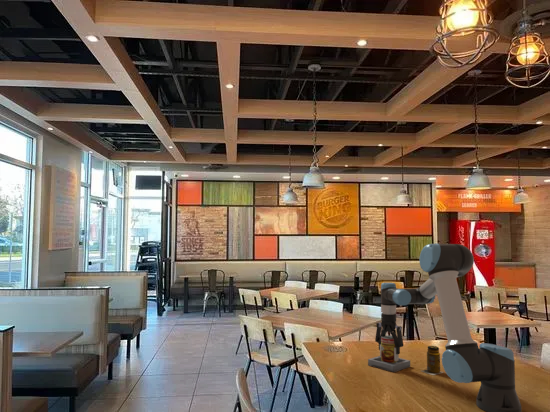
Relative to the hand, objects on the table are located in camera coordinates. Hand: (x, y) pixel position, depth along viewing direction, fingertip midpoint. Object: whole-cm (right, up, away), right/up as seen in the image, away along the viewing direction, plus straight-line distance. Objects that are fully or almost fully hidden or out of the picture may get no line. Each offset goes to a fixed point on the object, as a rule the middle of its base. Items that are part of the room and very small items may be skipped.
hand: (389, 358), depth 211 cm
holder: (0, -4, 0) cm, 4 cm away
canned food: (0, -1, 0) cm, 1 cm away
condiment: (+18, -3, -9) cm, 21 cm away
